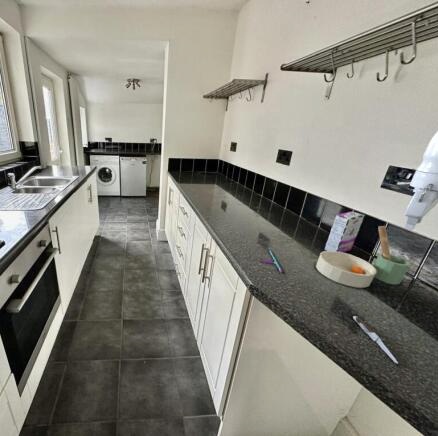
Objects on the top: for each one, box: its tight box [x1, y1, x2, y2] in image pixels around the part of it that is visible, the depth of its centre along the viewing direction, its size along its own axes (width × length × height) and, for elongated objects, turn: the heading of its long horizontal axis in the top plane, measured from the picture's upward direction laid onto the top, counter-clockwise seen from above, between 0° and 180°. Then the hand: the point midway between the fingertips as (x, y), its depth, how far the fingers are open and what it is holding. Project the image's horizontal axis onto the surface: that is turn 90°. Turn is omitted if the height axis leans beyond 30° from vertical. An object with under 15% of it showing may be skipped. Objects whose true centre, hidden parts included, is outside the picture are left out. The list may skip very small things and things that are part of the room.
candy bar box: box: [324, 211, 366, 253], centre depth 95 cm, size 11×5×16 cm, turn 114°
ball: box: [351, 266, 363, 274], centre depth 80 cm, size 3×3×3 cm
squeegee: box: [262, 250, 283, 274], centre depth 88 cm, size 15×1×5 cm
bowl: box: [315, 250, 377, 288], centre depth 80 cm, size 15×15×6 cm
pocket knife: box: [352, 315, 399, 365], centre depth 56 cm, size 14×1×2 cm, turn 173°
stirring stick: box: [377, 225, 391, 261], centre depth 79 cm, size 2×2×18 cm
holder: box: [372, 252, 412, 285], centre depth 79 cm, size 8×8×8 cm
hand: (412, 225), depth 73 cm, fingers open, 8 cm apart
